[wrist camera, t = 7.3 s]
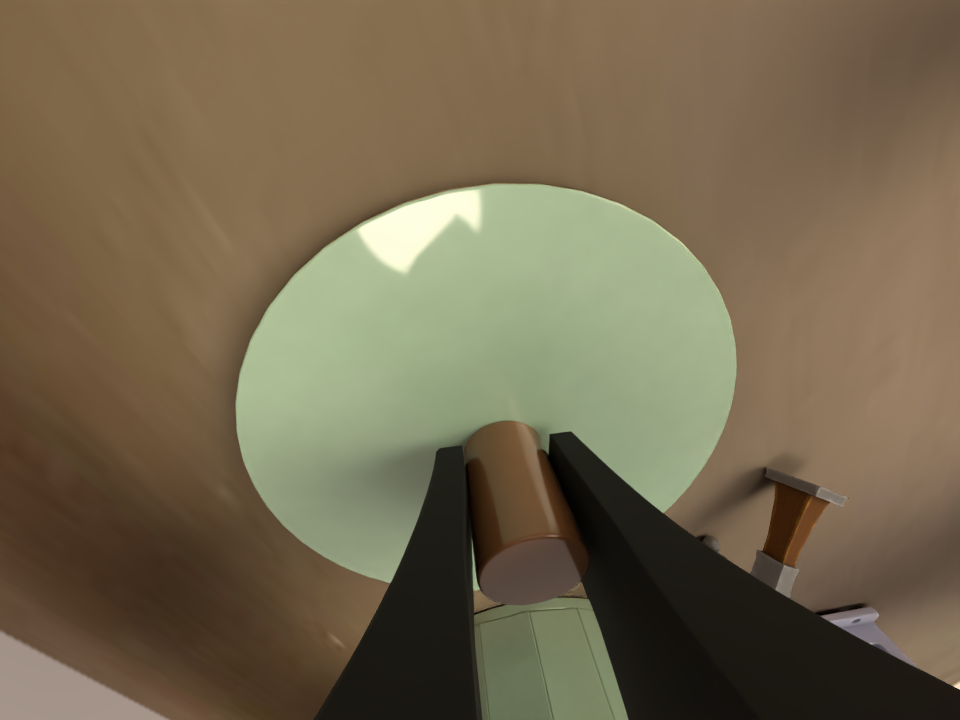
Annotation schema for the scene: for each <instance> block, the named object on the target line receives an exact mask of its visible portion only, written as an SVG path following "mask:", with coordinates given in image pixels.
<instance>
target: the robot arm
mask: <svg viewBox="0 0 960 720" xmlns="http://www.w3.org/2000/svg"><path fill="white" fill-rule="evenodd" d="M548 455H549V458H550V460H551V462H552V465H553V467H554V470H555V472H556V475H557V477H558V479H559V482H560V484H561V487H562V489H563V491H564V494H565V496H566V499H567V501H568V503H569V506H570V508H571V511H572V513H573V515H574V518H575V520H576V523H577V525H578V528H579V530H580V532H581V535H582V537H583V540H584V542H585V544H586V547H587V549H588V552H589V555H590V565H589V568H588V571H587V573H586V575H585V576H584V578H583V579H582V580H581V582H582V584H583V586H584V589H585V591H586V594H587V596H588V599H589V601H590V603H591V606H592V608H593V611H594V614H595V616H596V619H597V622H598V624H599V627H600V630H601V633H602V636H603V640H604V643H605V646H606V649H607V652H608V655H609V658H610V661H611V665H612V668H613V671H614V674H615V677H616V680H617V684H618V687H619V690H620V694H621V697H622V700H623V703H624V707H625V710H626V713H627V716H628V720H960V690H959V689H957V688H955V687H953V686H951V685H949V684H947V683H945V682H943V681H941V680H940V679H938V678H936V677H934V676H932V675H930V674H928V673H926V672H924V671H922V670H920V669H919V668H918V667H917V666H916V665H915V664H914V663H913V662H912V661H911V660H910V659H909V658H908V657H907V656H906V655H905V654H904V653H903V652H902V651H901V650H900V648H899V647H898V646H897V645H896V644H895V643H894V642H893V641H892V640H891V639H890V638H889V637H888V636H887V635H886V634H885V633H884V632H883V631H882V630H881V629H880V628H879V627H878V626H877V625H876V624H875V623H874V621H875V620H876V619H877V618H878V616H879V613H878V612H877V611H876V610H875V609H874V608H872V607H865V608H860V609H854V610H849V611H843V612H838V613H833V614H827V615H822V616H819V615H817V614H815V613H814V612H812V611H810V610H808V609H807V608H805V607H803V606H801V605H800V604H798V603H796V602H795V601H793V600H791V599H790V598H788V597H786V596H785V595H783V594H781V593H780V592H778V591H776V590H775V589H773V588H772V587H770V586H768V585H767V584H765V583H764V582H762V581H760V580H759V579H757V578H756V577H754V576H752V575H751V574H749V573H747V572H746V571H744V570H743V569H741V568H739V567H738V566H736V565H735V564H733V563H732V562H730V561H729V560H727V559H726V558H724V557H723V556H721V555H720V554H718V553H717V552H715V551H714V550H713V549H711V548H710V547H708V546H707V545H705V544H704V543H703V542H701V541H700V540H698V539H697V538H695V537H694V536H693V535H691V534H690V533H688V532H687V531H686V530H684V529H683V528H682V527H680V526H679V525H678V524H676V523H675V522H674V521H672V520H671V519H670V518H669V517H667V516H666V515H665V514H664V513H662V512H661V511H660V510H659V509H657V508H656V507H655V506H654V505H652V504H651V503H650V502H649V501H647V500H646V499H645V498H644V497H643V496H641V495H640V494H639V493H638V492H637V491H636V490H634V489H633V488H632V487H631V486H630V485H629V484H628V483H626V482H625V481H624V480H623V479H622V478H621V477H620V476H618V475H617V474H616V473H615V472H614V471H613V470H612V469H611V468H610V467H608V466H607V465H606V464H605V463H604V462H603V461H602V460H601V459H600V458H599V457H598V456H597V455H596V454H595V453H594V452H592V451H591V450H590V449H589V448H588V447H587V446H586V445H585V444H584V443H583V442H582V441H581V440H580V439H579V438H578V437H577V436H576V435H575V434H574V433H572V432H571V431H569V432H561V433H553V434H549V453H548ZM314 720H482V710H481V700H480V690H479V679H478V669H477V659H476V649H475V632H474V599H473V560H472V535H471V526H470V517H469V508H468V493H467V483H466V473H465V464H464V456H463V448H462V445H460V446H452V447H444V448H439V449H438V450H437V451H436V457H435V463H434V468H433V472H432V476H431V480H430V483H429V487H428V490H427V494H426V497H425V499H424V502H423V505H422V508H421V511H420V514H419V517H418V520H417V523H416V525H415V528H414V530H413V533H412V535H411V537H410V540H409V542H408V545H407V547H406V550H405V552H404V555H403V557H402V559H401V561H400V564H399V566H398V568H397V570H396V572H395V575H394V577H393V579H392V581H391V583H390V585H389V587H388V589H387V591H386V593H385V595H384V597H383V599H382V601H381V603H380V605H379V607H378V609H377V611H376V613H375V615H374V617H373V618H372V620H371V622H370V624H369V626H368V628H367V630H366V632H365V633H364V635H363V637H362V639H361V641H360V643H359V644H358V646H357V648H356V650H355V652H354V653H353V655H352V657H351V659H350V660H349V662H348V664H347V666H346V667H345V669H344V671H343V672H342V674H341V676H340V677H339V679H338V680H337V682H336V684H335V685H334V687H333V689H332V690H331V692H330V694H329V695H328V697H327V699H326V700H325V702H324V704H323V705H322V707H321V708H320V710H319V712H318V713H317V715H316V717H315V718H314Z"/></svg>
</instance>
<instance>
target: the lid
mask: <svg viewBox="0 0 960 720" xmlns="http://www.w3.org/2000/svg"><path fill="white" fill-rule="evenodd" d="M736 374H737V368H736V344H735V339H734V334H733V329H732V324H731V319H730V317H729V314H728V311H727V309H726V306H725V304H724V301H723V299H722V296H721V293H720V292H719V290H718V288H717V287H716V285H715V284H714V282H713V280H712V279H711V277H710V275H709V274H708V272H707V271H706V269H705V267H704V266H703V265H702V264H701V263H700V262H699V260H698V259H697V258H696V257H695V256H694V255H693V254H692V253H691V252H690V250H689V249H688V248H687V247H686V246H685V245H684V244H683V243H682V242H681V241H680V240H678V239H677V238H676V237H675V236H673V235H672V234H671V233H669V232H668V231H667V230H665V229H664V228H663V227H662V226H660V225H659V224H658V223H656V222H655V221H654V220H652V219H650V218H648V217H646V216H644V215H642V214H640V213H638V212H636V211H634V210H633V209H631V208H629V207H627V206H625V205H623V204H621V203H618V202H615V201H612V200H609V199H606V198H603V197H600V196H597V195H594V194H591V193H588V192H585V191H581V190H575V189H569V188H562V187H556V186H550V185H544V184H537V183H487V184H480V185H473V186H466V187H459V188H452V189H446V190H443V191H439V192H436V193H433V194H429V195H426V196H422V197H419V198H416V199H412V200H409V201H405V202H403V203H401V204H399V205H396V206H394V207H392V208H390V209H388V210H386V211H383V212H381V213H379V214H377V215H375V216H373V217H370V218H368V219H366V220H364V221H363V222H361V223H360V224H358V225H357V226H355V227H353V228H352V229H350V230H349V231H347V232H346V233H344V234H343V235H341V236H340V237H338V238H337V239H335V240H334V241H332V242H331V243H329V244H328V245H326V246H325V247H324V248H323V249H322V250H321V251H319V252H318V253H317V254H316V255H315V256H314V257H313V258H312V259H311V260H309V261H308V262H307V263H306V264H305V265H304V266H303V267H302V268H301V269H300V270H298V271H297V272H296V273H295V274H294V275H293V276H292V277H291V279H290V280H289V281H288V282H287V284H286V285H285V286H284V287H283V289H282V290H281V291H280V292H279V294H278V295H277V296H276V297H275V299H274V300H273V301H272V302H271V304H270V305H269V306H268V308H267V310H266V312H265V314H264V315H263V317H262V319H261V321H260V323H259V324H258V326H257V328H256V330H255V332H254V333H253V335H252V337H251V339H250V342H249V345H248V348H247V351H246V354H245V357H244V360H243V363H242V366H241V369H240V374H239V381H238V387H237V394H236V401H235V405H236V431H237V437H238V441H239V446H240V450H241V454H242V459H243V462H244V464H245V466H246V469H247V471H248V474H249V476H250V479H251V481H252V483H253V485H254V487H255V488H256V490H257V492H258V493H259V495H260V497H261V498H262V500H263V501H264V503H265V505H266V506H267V507H268V509H269V510H270V511H271V512H272V513H273V514H274V516H275V517H276V518H277V519H278V520H279V521H280V523H281V524H282V525H283V526H284V527H285V528H286V529H287V530H289V531H290V532H291V533H292V534H293V535H294V536H295V537H296V538H298V539H299V540H300V541H301V542H302V543H304V544H305V545H307V546H308V547H309V548H311V549H312V550H314V551H315V552H317V553H318V554H320V555H321V556H323V557H325V558H327V559H328V560H330V561H332V562H334V563H336V564H338V565H340V566H342V567H344V568H346V569H349V570H351V571H354V572H356V573H359V574H361V575H364V576H366V577H370V578H373V579H376V580H380V581H383V582H387V583H391V581H392V579H393V577H394V575H395V572H396V570H397V568H398V566H399V564H400V561H401V559H402V557H403V555H404V552H405V550H406V547H407V545H408V542H409V540H410V537H411V535H412V533H413V530H414V528H415V525H416V523H417V520H418V517H419V514H420V511H421V508H422V505H423V502H424V499H425V497H426V494H427V490H428V487H429V483H430V480H431V476H432V472H433V468H434V463H435V457H436V451H437V450H438V449H439V448H444V447H452V446H460V445H462V448H463V456H464V464H465V473H466V483H467V493H468V508H469V517H470V526H471V535H472V560H473V590H481V591H482V593H483V594H484V595H485V596H486V597H488V598H489V599H491V600H493V601H495V602H498V603H501V604H506V605H531V604H537V603H541V602H545V601H548V600H551V599H554V598H556V597H558V596H560V595H562V594H564V593H566V592H568V591H569V590H571V589H572V588H573V587H575V586H576V585H577V584H578V583H579V582H580V581H581V580H582V579H583V578H584V576H585V575H586V573H587V571H588V568H589V565H590V555H589V552H588V549H587V547H586V544H585V542H584V540H583V537H582V535H581V532H580V530H579V528H578V525H577V523H576V520H575V518H574V515H573V513H572V511H571V508H570V506H569V503H568V501H567V499H566V496H565V494H564V491H563V489H562V487H561V484H560V482H559V479H558V477H557V475H556V472H555V470H554V467H553V465H552V462H551V460H550V458H549V455H548V453H549V434H553V433H561V432H569V431H571V432H572V433H574V434H575V435H576V436H577V437H578V438H579V439H580V440H581V441H582V442H583V443H584V444H585V445H586V446H587V447H588V448H589V449H590V450H591V451H592V452H594V453H595V454H596V455H597V456H598V457H599V458H600V459H601V460H602V461H603V462H604V463H605V464H606V465H607V466H608V467H610V468H611V469H612V470H613V471H614V472H615V473H616V474H617V475H618V476H620V477H621V478H622V479H623V480H624V481H625V482H626V483H628V484H629V485H630V486H631V487H632V488H633V489H634V490H636V491H637V492H638V493H639V494H640V495H641V496H643V497H644V498H645V499H646V500H647V501H649V502H650V503H651V504H652V505H654V506H655V507H656V508H657V509H659V510H660V511H661V512H662V513H664V512H665V511H666V510H668V509H669V508H670V507H671V506H672V505H673V504H674V503H675V502H676V501H677V500H678V499H679V497H680V496H681V495H682V494H683V493H684V492H685V491H686V490H687V489H688V487H689V486H690V485H691V484H692V482H693V481H694V480H695V478H696V477H697V476H698V474H699V473H700V472H701V470H702V469H703V467H704V466H705V464H706V463H707V461H708V459H709V457H710V456H711V454H712V452H713V451H714V449H715V447H716V445H717V443H718V441H719V439H720V436H721V434H722V432H723V429H724V427H725V425H726V422H727V419H728V415H729V412H730V408H731V404H732V401H733V396H734V389H735V381H736Z"/></svg>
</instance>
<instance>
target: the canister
mask: <svg viewBox="0 0 960 720" xmlns="http://www.w3.org/2000/svg"><path fill="white" fill-rule="evenodd" d="M474 632H475V649H476V659H477V669H478V679H479V690H480V700H481V710H482V720H628V716H627V713H626V710H625V707H624V703H623V700H622V697H621V694H620V690H619V687H618V684H617V680H616V677H615V674H614V671H613V668H612V665H611V661H610V658H609V655H608V652H607V649H606V646H605V643H604V640H603V636H602V633H601V630H600V627H599V624H598V622H597V619H596V616H595V614H594V611H593V608H592V606H591V603H590V601H589V599H583V598H563V597H560V598H554V599H551V600H548V601H545V602H541V603H537V604H531V605H504V606H500V607H497V608H493V609H490V610H487V611H484V612H481V613H478V614H476V615H474Z"/></svg>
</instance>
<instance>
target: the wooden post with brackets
mask: <svg viewBox="0 0 960 720" xmlns="http://www.w3.org/2000/svg"><path fill="white" fill-rule="evenodd" d="M766 469H767V472H766V475H765V477H768V478H770V479H773V480H775V481H776V484H775V500H774V505H773V510H772V516H771V521H770V526H769V532H768V536H767V539H766V542H765V545H764V548H763V551H760V550H757V553H756V560H755V562H754V565H753V568H752V571H751V573H750V574H751V575H752V576H754V577H756V578H757V579H759V580H760V581H762V582H764V583H765V584H767V585H768V586H770V587H772V588H773V589H775V590H776V591H778V592H780V593H781V594H783V595H785V596H786V597H788V598H790V599H791V590H792V587H793V584H794V580H795V577H796V575H797V574H798V572H799V571H800V570H799V569H797V568H796V567H794V566H795V564H796V561H797V558H798V556H799V553H800V551H801V549H802V547H803V545H804V543H805V541H806V539H807V538H808V536H809V534H810V532H811V530H812V529H813V527H814V525H815V523H816V521H817V520H818V518H819V516H820V515H821V514H822V512H823V511H824V510H825V508H826V507H827V506H828V504H829V503H830V502H831V503H834V504H836V505H839V506H842V507H843V503H844V502H845V500H847V499H849V498H846V497H844V496H842V495H839V494H837V493H834V492H832V491H830V490H827V489H825V488H822V487H820V486H817V485H814V484H812V483H809V482H806V481H803V480H801V479H798V478H795V477H792V476H790V475H787V474H784V473H782V472H779V471H776V470H773V469H771V468H768V467H766ZM703 543H704V544H705V545H707V546H708V547H710V548H711V549H713V550H714V551H715V552H717V551H718V550H719V549H720V544H719V542H718V540H717V539H716V538H714V537H712V536H707V537H705V538H704V540H703ZM717 553H718V552H717ZM718 554H719V553H718ZM720 555H721V554H720ZM721 556H722V555H721ZM723 557H724V556H723ZM724 558H725V557H724Z"/></svg>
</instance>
